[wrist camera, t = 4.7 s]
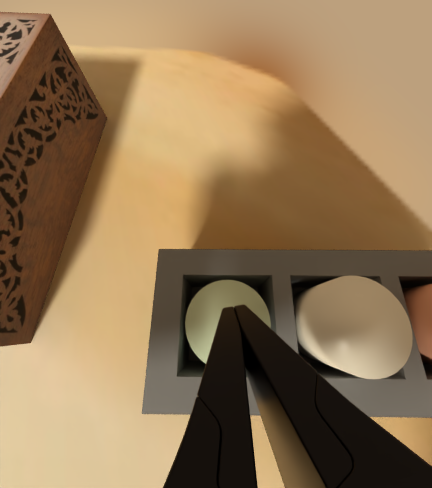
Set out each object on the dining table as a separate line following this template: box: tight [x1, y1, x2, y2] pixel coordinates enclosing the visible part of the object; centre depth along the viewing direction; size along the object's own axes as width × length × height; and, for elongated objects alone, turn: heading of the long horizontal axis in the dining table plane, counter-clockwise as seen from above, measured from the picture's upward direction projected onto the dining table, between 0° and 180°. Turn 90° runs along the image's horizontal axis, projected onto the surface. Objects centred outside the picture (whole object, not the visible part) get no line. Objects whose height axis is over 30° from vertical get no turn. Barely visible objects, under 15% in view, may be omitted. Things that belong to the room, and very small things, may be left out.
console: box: [142, 249, 432, 418], centre depth 15 cm, size 8×20×8 cm, turn 90°
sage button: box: [185, 280, 271, 364], centre depth 13 cm, size 4×4×4 cm
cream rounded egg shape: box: [292, 275, 413, 379], centre depth 12 cm, size 4×4×4 cm
